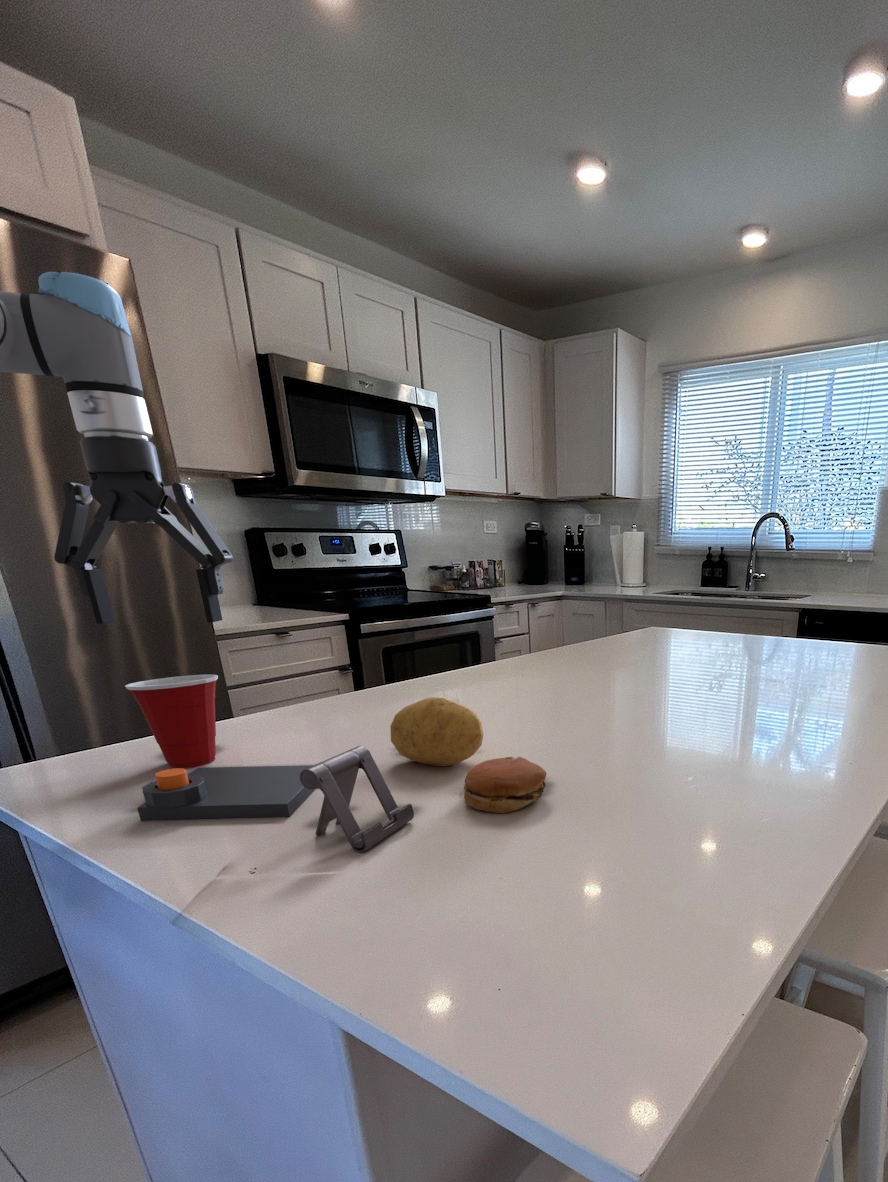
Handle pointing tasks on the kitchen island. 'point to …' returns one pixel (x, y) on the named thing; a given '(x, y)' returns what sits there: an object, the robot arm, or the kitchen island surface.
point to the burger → (504, 784)
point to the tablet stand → (338, 788)
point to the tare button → (172, 778)
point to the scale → (228, 794)
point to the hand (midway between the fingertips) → (161, 622)
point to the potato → (436, 732)
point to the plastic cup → (180, 717)
